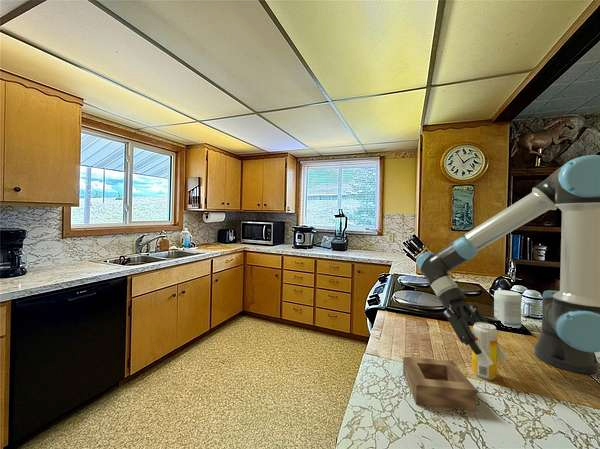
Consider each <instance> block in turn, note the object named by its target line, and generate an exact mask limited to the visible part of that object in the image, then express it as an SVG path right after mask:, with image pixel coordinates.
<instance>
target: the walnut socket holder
mask: <svg viewBox="0 0 600 449" xmlns="http://www.w3.org/2000/svg"><path fill="white" fill-rule="evenodd" d="M402 358H403V362H402V364H403V365H402V367H403V368H402V373H403V376H404V379H405V381H406V383H407V386H408V388H409V390H410V394H411V396H412V398H413V400H414V403H415V405H419V406H425V407H426V406H429V407H438V408H448V409H456V410H467V411H474V412H475V411H476V412H477V411H478V410H477V408H478V407H477V402H478V401H477V398H478V391H477V390H478V389H477V388H476V387H475V386H474V385H473V383H471V381H470V380H469V378H468V377H467V376H466V375H465V374H464V372H463V371H462V370H461V369H460V368H459V367H458V365H457V364H456V362H454V360H449V359H438V358H437V359H436V358H435V359H434V358H422V357H413V356H412V357H410V356H403V357H402Z"/></svg>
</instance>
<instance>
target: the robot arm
mask: <svg viewBox="0 0 600 449" xmlns="http://www.w3.org/2000/svg"><path fill="white" fill-rule="evenodd" d="M557 209H559V210H560V211H561V234H560V236H561V239H560V273H559V275H560V276H559V278H560V279H559V290H548V289H547V290H544V291H543V293H542V297H541V300H542V303H541V306H542V308H541V309H542V312H541V314H542V315H541V316H542V317H541V333H540V335H539V338H538V340H537V342H536V344H535V345H534V356H535V357H536V358H537V359H538V360H540V361H543V362H544V363H547V364H549V365H551V366H553V367H556V368H559V369H562V370H565V371H569V372H573V373H578V374H579V373H580V374H588V375H589V374H590V375H591V374H596V373H598V372H599V369H600V368H599V361H598V358H597V355H596V353H600V155H599V154H588V155H582V156H579V157H575V158H573V159H570V160H568V161H567V162H566V163H564V164H563V165H561V166H560V167H559V168H557V169H556V170H555V171H554V172H552V173H551V174H550V175H549V176H548V177H547V178H546V179H544V180H543V181H542V182H540V183H538V184H537V185H536V186H534V187H532V190H531V192H530V193H529V194H527V195H526V196H524V197H523V198H521V199H519V200H518V201H515V202H514V203H512V205H510V206H508V207H506V208H505V209H503V210H501V211H500V212H499V213H498V212H497V214H495V215H493V216H491V217H490V218H488V219H487V220H486V221H484V222H482V223H481V224H478V226H476V227H474V228H473V229H471V230H469V231H468V232H466V233H465V234H463V235H461V236H460V237H458V238H457V239H455V240H453V241H451V242H450V243H449V244H448V245H447V246H445V247H444V248H443V249H441V250H439V251H438V252H436V253H434V252H433V251H425V252H424V253H421V254H420V255H418V256H417V257H416V261H415V264H416V265H417V267H418V269H419V271H420V273H421V274H422V275H423V277H424V278H425V279H426V281H427V283H428V285H429V286H430V287H431V288H432V290H433V292H434V293H435V295H436V297H438V300H439V301H440V303H441V304H442V306H443V307H444V308H446V310H444V311H443V312H442V315H443V316H444V317H445V318H446V319H447V320H448V322H449V324H450V326H451V327H452V329H453V331H454V332H455V334H456V336H457V338H458V339H459V342H460V343H462V344H464V345H465V346H470V348H471V350H473V351H474V353H475V354H476V355H477V356H478V358H479V359H480V361H481V362H482V364H483V365H484V367H487V366H489V365H492V364H494V363H493V362H492V360H491V359H490V357H489V356H488V354H487V353H486V352H485V350H484V349H483V347H482V346H481V344H480V343H479V341H475V339H474V336H473V331H472V330H471V327H470V325H472V327H473V326H474V324H475V323H476V322H483V323H488V324H490V322H489V321H488V320H487V319H486V317H485V316H484V315H483V314H482V312H481V311H480V309H479V307H478V305H476V304H474V305H470V304H469V303H468V302H466V296H465V294H464V293H463V291H462V289H461V288H460V287H458V284H457V283H456V281H455V280H454V279H453V277H452V276H451V275H450V273H449V272H451V271H453V270H454V269H456V268H457V267H459V266H461V265H463V264H465V263H466V262H467V261H470V260H472V259H473V258H475V257H476V256H477V255H478V253H479V251H480V250H482V249H484V248H486V246H490V244H492V243H494V242H496V241H498V240H499V239H501V238H503V237H505V236H506V235H508V234H509V233H511V232H514V231H515V230H517V229H518V228H520V227H521V226H524V225H525V224H527V223H529V222H531V221H532V220H535V219H536V218H538V217H539V216H541V215H542V214H543V215H544V214H545V213H547V212H548V211H551V210H552V211H556V210H557ZM468 322H469V323H468ZM469 324H470V325H469ZM508 360H509V356H508V355H507V354H506V352H505V351H504V350H503V348H502V347H501V345H500V344H499V342H498V341H497V361H498V362H499V363H501V364H502V363H503V362H506V361H508Z"/></svg>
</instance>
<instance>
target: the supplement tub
mask: <svg viewBox="0 0 600 449" xmlns="http://www.w3.org/2000/svg"><path fill="white" fill-rule="evenodd" d="M521 295H522V294H521V293H519V292H517V291H513V290H512V291H511V290H504V289H496V290H494V293H493V300H494V301H493V311H494V312H493V317H495V318H497V319H498V320H500V321H501V323H502V324H503V325H504V326H507V327H512V328H517V329H520V328H521V327H522V297H521Z"/></svg>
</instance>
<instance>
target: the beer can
mask: <svg viewBox="0 0 600 449" xmlns="http://www.w3.org/2000/svg"><path fill="white" fill-rule="evenodd" d="M472 334H473V336H474V339H475V341H479V343H480V344H481V346H482V347H483V349H484V350H485V352H486V353H487V354H488V356H489V357H490V359H491V360H492V362H493V363H494V364H492V365H489V366H487V367H484V365H483V364H482V362H481V361H480V359H479V358H478V356H477V355H476V354H475V353H474V351H473V350H472V349H471V350H472V352H471V353H472V357H471V370H472V372H473V373H474V375H476V376H477V377H479V378H480V379H484V380H487V381H488V380H489V381H491V380H494V379H495V378H497V372H498V370H497V368H498V362H497V361H498V359H497V342H498V330H497V327H496V326H495V325H494V324H491V323H489V324H488V323H483V322H476V323H475V324H474V326H473V325H472Z"/></svg>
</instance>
